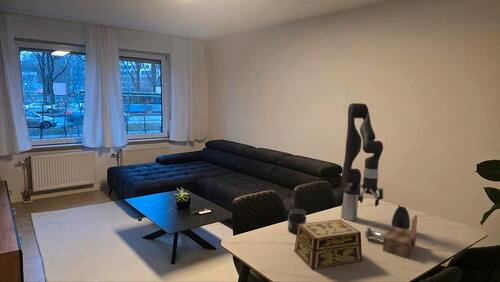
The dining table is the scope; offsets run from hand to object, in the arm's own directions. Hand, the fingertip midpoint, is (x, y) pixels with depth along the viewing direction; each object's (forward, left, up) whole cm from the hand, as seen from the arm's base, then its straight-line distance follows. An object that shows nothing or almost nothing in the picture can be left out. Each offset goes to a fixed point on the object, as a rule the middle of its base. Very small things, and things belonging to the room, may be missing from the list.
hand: (368, 204), depth 179 cm
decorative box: (-8, -36, -20) cm, 42 cm away
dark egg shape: (+13, +21, -20) cm, 32 cm away
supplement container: (-35, -19, -20) cm, 44 cm away
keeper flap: (+24, -3, -12) cm, 27 cm away
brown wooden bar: (+10, -3, -19) cm, 21 cm away
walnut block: (+18, -3, -19) cm, 27 cm away
